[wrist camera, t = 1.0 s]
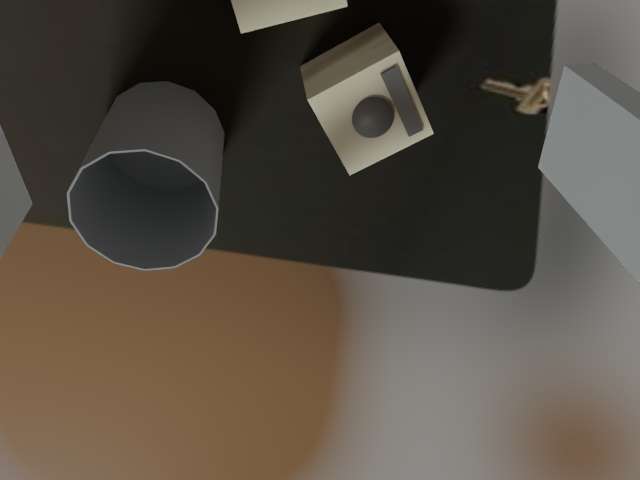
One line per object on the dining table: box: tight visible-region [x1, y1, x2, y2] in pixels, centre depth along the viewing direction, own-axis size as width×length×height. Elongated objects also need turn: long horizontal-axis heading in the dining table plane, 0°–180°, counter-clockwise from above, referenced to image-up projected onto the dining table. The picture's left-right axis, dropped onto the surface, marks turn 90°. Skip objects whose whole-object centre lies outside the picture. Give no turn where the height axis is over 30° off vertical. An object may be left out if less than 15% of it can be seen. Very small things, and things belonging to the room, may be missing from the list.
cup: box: [67, 81, 224, 271], centre depth 35 cm, size 8×8×10 cm
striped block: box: [300, 23, 434, 175], centre depth 35 cm, size 6×6×6 cm
